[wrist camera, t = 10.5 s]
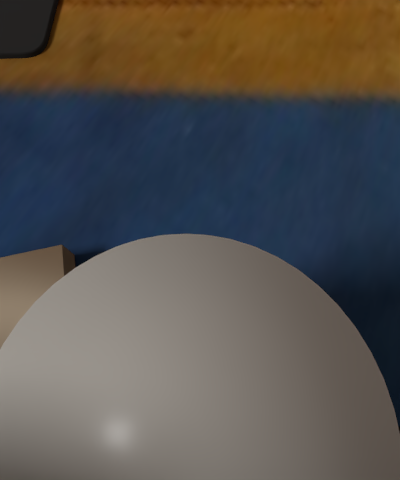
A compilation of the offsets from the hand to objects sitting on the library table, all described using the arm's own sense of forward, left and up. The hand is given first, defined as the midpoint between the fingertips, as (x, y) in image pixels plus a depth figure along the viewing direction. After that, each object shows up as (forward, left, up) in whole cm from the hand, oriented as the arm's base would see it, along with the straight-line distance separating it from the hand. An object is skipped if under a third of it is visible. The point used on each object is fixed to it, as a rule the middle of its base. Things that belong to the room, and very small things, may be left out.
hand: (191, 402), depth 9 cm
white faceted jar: (0, 0, -7) cm, 7 cm away
